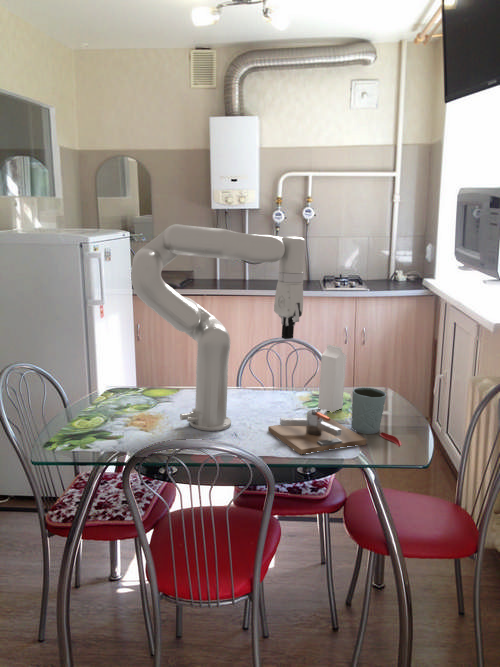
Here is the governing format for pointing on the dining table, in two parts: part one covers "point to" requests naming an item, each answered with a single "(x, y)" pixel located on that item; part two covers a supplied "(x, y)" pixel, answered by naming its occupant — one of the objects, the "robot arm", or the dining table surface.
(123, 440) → the dining table surface
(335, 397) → the milk
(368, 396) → the grey-green cup
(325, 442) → the level window
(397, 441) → the cayenne pepper
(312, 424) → the capstan
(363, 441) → the board
